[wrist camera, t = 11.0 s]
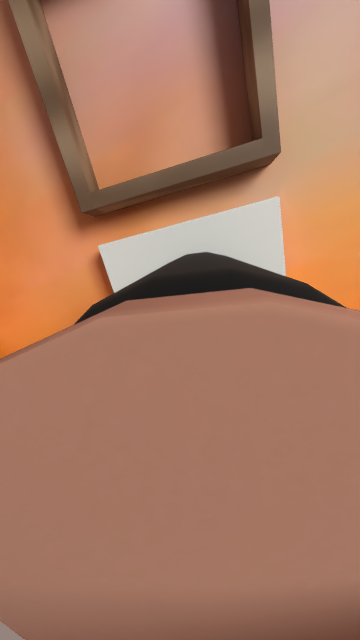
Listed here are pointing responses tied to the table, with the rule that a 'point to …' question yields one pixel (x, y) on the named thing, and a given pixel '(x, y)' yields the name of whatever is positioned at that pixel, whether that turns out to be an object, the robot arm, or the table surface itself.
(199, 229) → the tile
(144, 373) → the coffee jar
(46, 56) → the holder
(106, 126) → the table surface
